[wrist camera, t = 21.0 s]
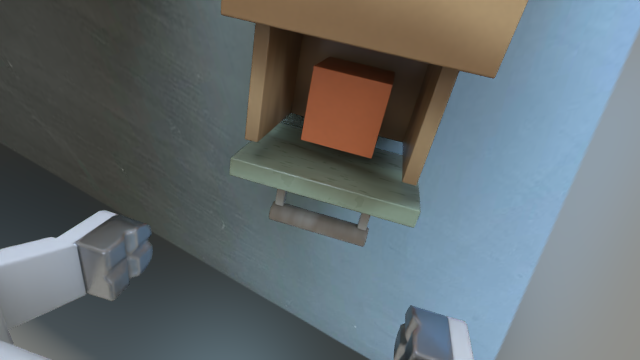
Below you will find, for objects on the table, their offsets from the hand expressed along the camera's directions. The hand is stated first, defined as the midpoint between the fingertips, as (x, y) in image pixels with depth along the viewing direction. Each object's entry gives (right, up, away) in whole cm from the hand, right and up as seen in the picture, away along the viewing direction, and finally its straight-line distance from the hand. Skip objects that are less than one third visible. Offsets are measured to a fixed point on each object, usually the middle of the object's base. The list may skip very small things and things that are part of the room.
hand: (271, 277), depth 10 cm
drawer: (+4, +9, +15) cm, 18 cm away
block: (+4, +9, +14) cm, 17 cm away
